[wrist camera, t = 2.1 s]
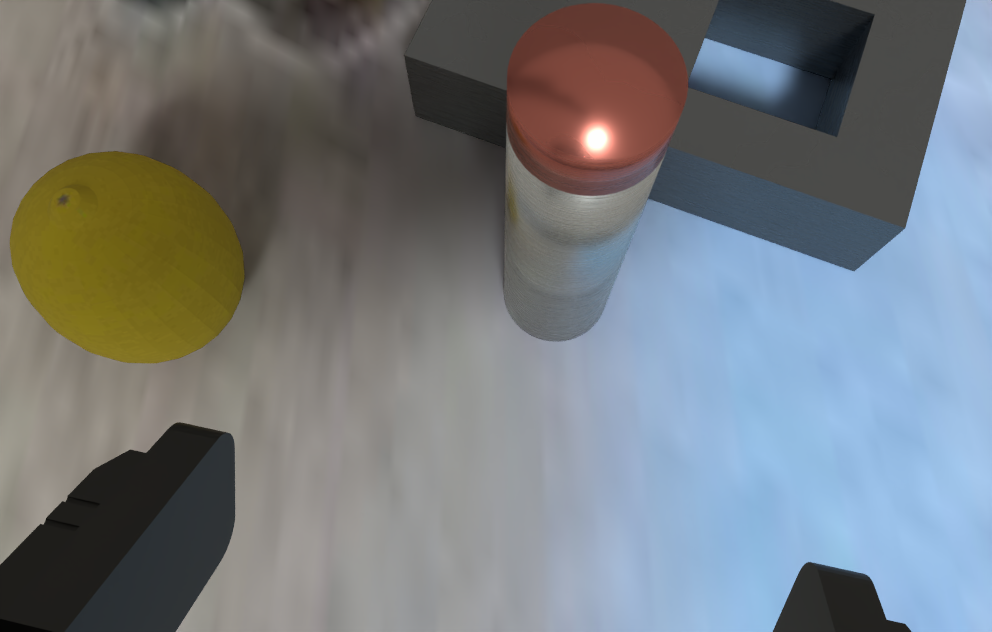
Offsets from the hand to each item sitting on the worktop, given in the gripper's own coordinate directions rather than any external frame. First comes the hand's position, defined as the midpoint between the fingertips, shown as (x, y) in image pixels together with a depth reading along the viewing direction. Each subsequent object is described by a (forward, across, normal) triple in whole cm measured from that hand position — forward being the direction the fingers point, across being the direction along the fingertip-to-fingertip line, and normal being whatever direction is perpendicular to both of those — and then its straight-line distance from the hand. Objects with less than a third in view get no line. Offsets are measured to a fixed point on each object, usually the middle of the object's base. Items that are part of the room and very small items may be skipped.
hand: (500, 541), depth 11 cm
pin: (+15, 0, +3) cm, 16 cm away
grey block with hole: (+22, -2, -3) cm, 22 cm away
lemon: (+14, +12, +6) cm, 19 cm away
